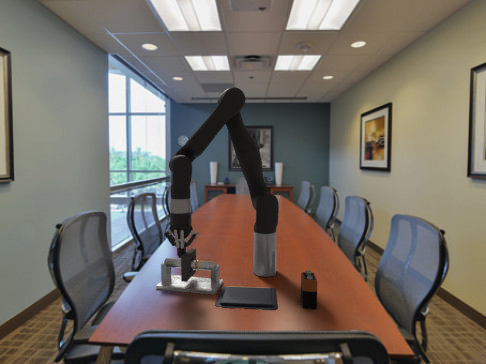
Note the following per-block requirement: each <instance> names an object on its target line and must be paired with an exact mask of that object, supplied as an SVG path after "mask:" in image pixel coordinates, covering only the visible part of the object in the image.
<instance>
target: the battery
mask: <svg viewBox="0 0 486 364" xmlns="http://www.w3.org/2000/svg"><path fill="white" fill-rule="evenodd" d="M300 299H301V301H300V302H301V306H302V308H303V309H310V310H317V307H318V280H317V277H316V273H314V272H313V271H311V270H307V269H306V270H305V271H302V272H301V274H300Z"/></svg>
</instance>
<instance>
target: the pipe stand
mask: <svg viewBox="0 0 486 364" xmlns="http://www.w3.org/2000/svg"><path fill="white" fill-rule="evenodd" d="M172 268H173V269H174V268H175V269H181V258H173V257H166V258H165V259H164V261H163V262H162V263H161V264H160V269H161V270H160V278H161V279H160V280H161V281H160V282H158V283H157V284H156V285H155V290H161V291H172V292H179V293H181V292H182V293H189V292H191V293H192V294H199V293H200V294H202V295H208V294H209V295H210V296H211V295H212V296H216V295H215V294H217V293H218V291H220V289H221V288H222V285H223V283H224V279H220V273H221V272H220V269H221V268H220V264H217V261H209V260H201V259H196V260H189V269H195V270H196V271H206V272H207V271H208V272H209V271H210V277H197V276H192V277H191V278H190V279H189V280H188V281H187V282H184V281H181V275H180V274H179V275H178V274H172Z"/></svg>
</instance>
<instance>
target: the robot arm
mask: <svg viewBox="0 0 486 364" xmlns="http://www.w3.org/2000/svg"><path fill="white" fill-rule="evenodd" d="M245 104H246V95H245V93H244V91H243V90H242V89H241V88H238V87H235V86H233V87H229V88H227V89H225V90H224V91H223V92H222V93H220V95H219V97H218V98H217V105H216V107H215V108H214V110H213V111H212V113H211V114H210V115H209V116H208V117H207V118H206V119H205V120H204V121H203V122H202V123H201V124H200V126H199V127H197V128H196V130H195V131H194V132H193V133H192V135H190V137H189V138H188V139H187V140H186V142H185V143H184V145H183V146H182V147H181V148H179V149H178V151H176V153H174V155H173V156H172V157H171V158H170V160H169V162H168V167H169V170H170V172H171V173H172V182H171V184H170V203H169V206H170V207H169V211H170V213H169V218H170V226H169V229H168V230H167V231H165V232H164V233H163V235H164V236H165V237H166V239H167V241H168V242H169V243H170V245H171V246H172V247H176V256H177V257H178V259H181V256H182V255H183V254H185V253H186V252H187V248H188V247H189V246H191V245H192V243H193V242H194V241H195V240H196V238H197V237H198V235H199V232H196V231H194V229H193V226H192V219H193V218H192V199H191V198H192V197H191V192H192V191H191V183H192V177H193V162H194V161H195V160H196V158H198V157H200V156H201V155H203V153H204V152H205V151H206V150H207V148H208V147H209V146H210V145H211V143H212V142H213V140H214V139H215V137H216V136H217V135H218V133H219V132H220V131H221V130H222V129H223V128H224V126H226V128H227V131H228V135H229V138H230V141H231V144H232V146H233V150H234V153H235V156H236V158H237V161H238V164H239V167H240V169H241V173H242V175H243V177H244V180H245V182H246V185H247V188H248V191H249V196H250V200H251V205H252V207H253V209H254V210H255V223H253V252H252V253H253V254H252V255H253V258H252V259H253V261H252V263H253V265H252V266H253V268H252V269H253V270H252V271H253V274H254V275H256V276H259V277H266V278H267V277H275V276H276V273H277V250H278V249H277V227H278V224H279V212H280V209H279V208H280V207H279V205H280V203H279V199H278V197H277V196H276V195H274V194H273V193H270V191H269V188H268V187H267V184H266V182H265V178H264V172H263V161H262V155H261V153H260V149H259V147H258V144H257V142H256V139H255V138H254V136H253V135H252V134H251V133H250V131H249V130H248V128H247V127H246V126H245V123H244V121H243V118H242V117H243V116H242V113H241V111H242V110H243V108H244V107H245ZM189 236H190V238H189ZM188 238H189V239H188Z"/></svg>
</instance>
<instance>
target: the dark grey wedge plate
mask: <svg viewBox="0 0 486 364" xmlns="http://www.w3.org/2000/svg"><path fill="white" fill-rule="evenodd" d="M180 259H181V268H180V274H181V275H180V276H181V281H184V282H187V281H188V280H189V279H190V278H191V277H194V275H195V274H196V273H197V270H195V269H189V260H197V248H189V249H188V250H186V253H185V254H183V255H182V256H181V258H180Z"/></svg>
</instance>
